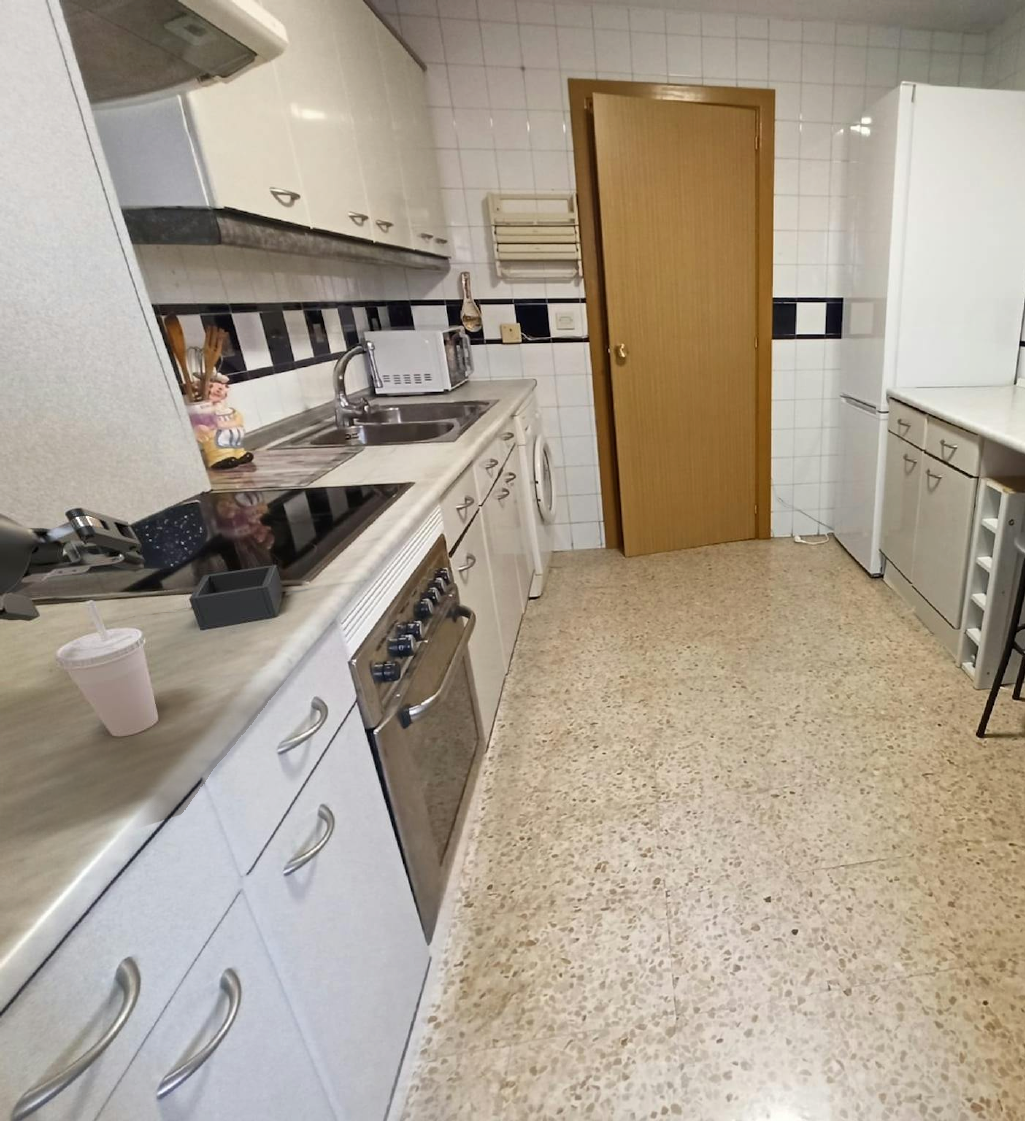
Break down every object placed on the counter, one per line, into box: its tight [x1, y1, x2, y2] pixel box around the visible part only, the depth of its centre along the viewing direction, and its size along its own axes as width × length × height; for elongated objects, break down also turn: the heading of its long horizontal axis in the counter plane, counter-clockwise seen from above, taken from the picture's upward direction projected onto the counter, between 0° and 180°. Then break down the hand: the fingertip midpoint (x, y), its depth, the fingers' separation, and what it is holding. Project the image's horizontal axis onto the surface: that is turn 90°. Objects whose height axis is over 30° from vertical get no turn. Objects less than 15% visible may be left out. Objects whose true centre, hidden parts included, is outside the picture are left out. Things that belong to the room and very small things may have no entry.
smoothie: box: [53, 599, 159, 738], centre depth 64 cm, size 6×6×14 cm
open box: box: [188, 564, 285, 631], centre depth 89 cm, size 8×8×5 cm
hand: (84, 584), depth 59 cm, fingers open, 8 cm apart
